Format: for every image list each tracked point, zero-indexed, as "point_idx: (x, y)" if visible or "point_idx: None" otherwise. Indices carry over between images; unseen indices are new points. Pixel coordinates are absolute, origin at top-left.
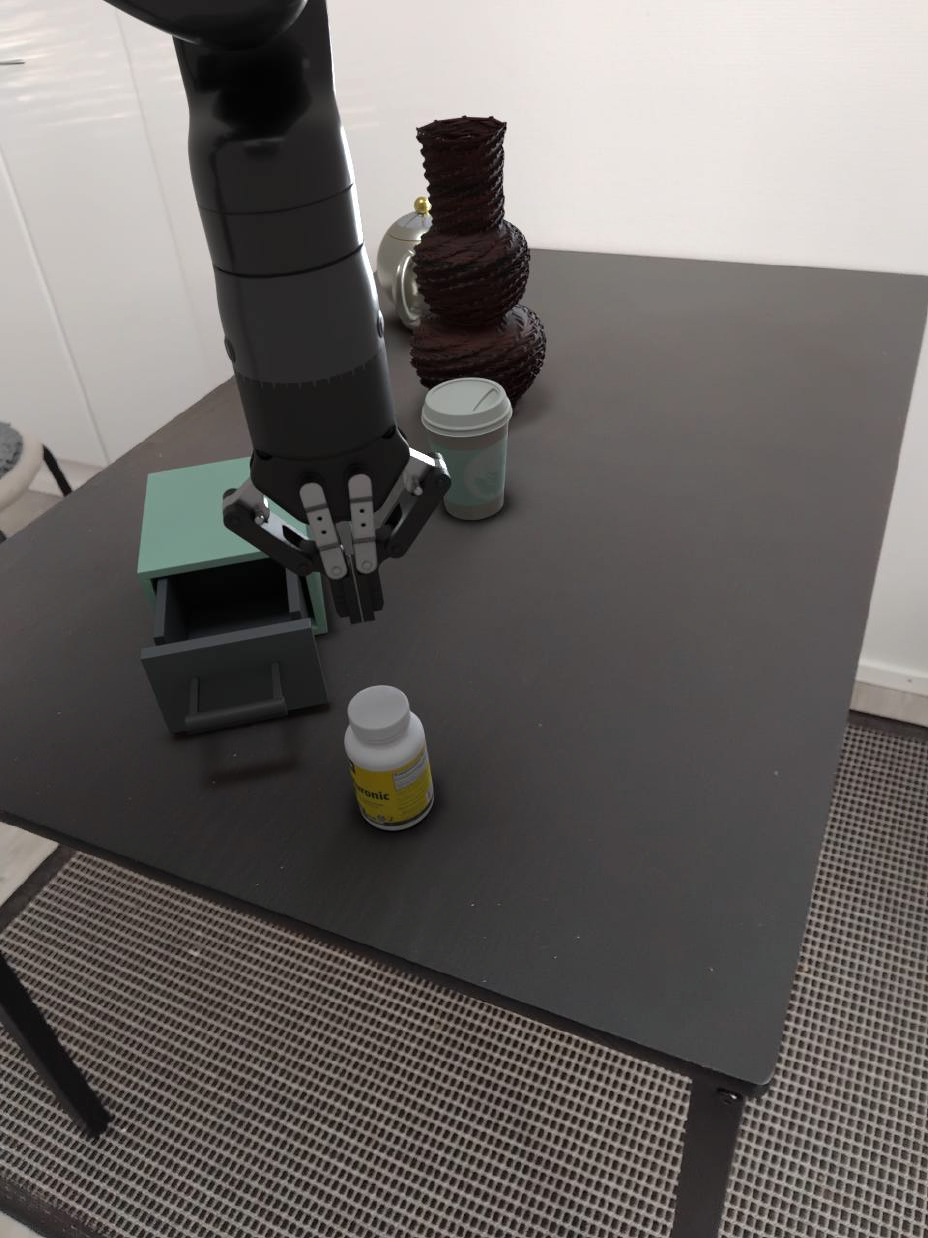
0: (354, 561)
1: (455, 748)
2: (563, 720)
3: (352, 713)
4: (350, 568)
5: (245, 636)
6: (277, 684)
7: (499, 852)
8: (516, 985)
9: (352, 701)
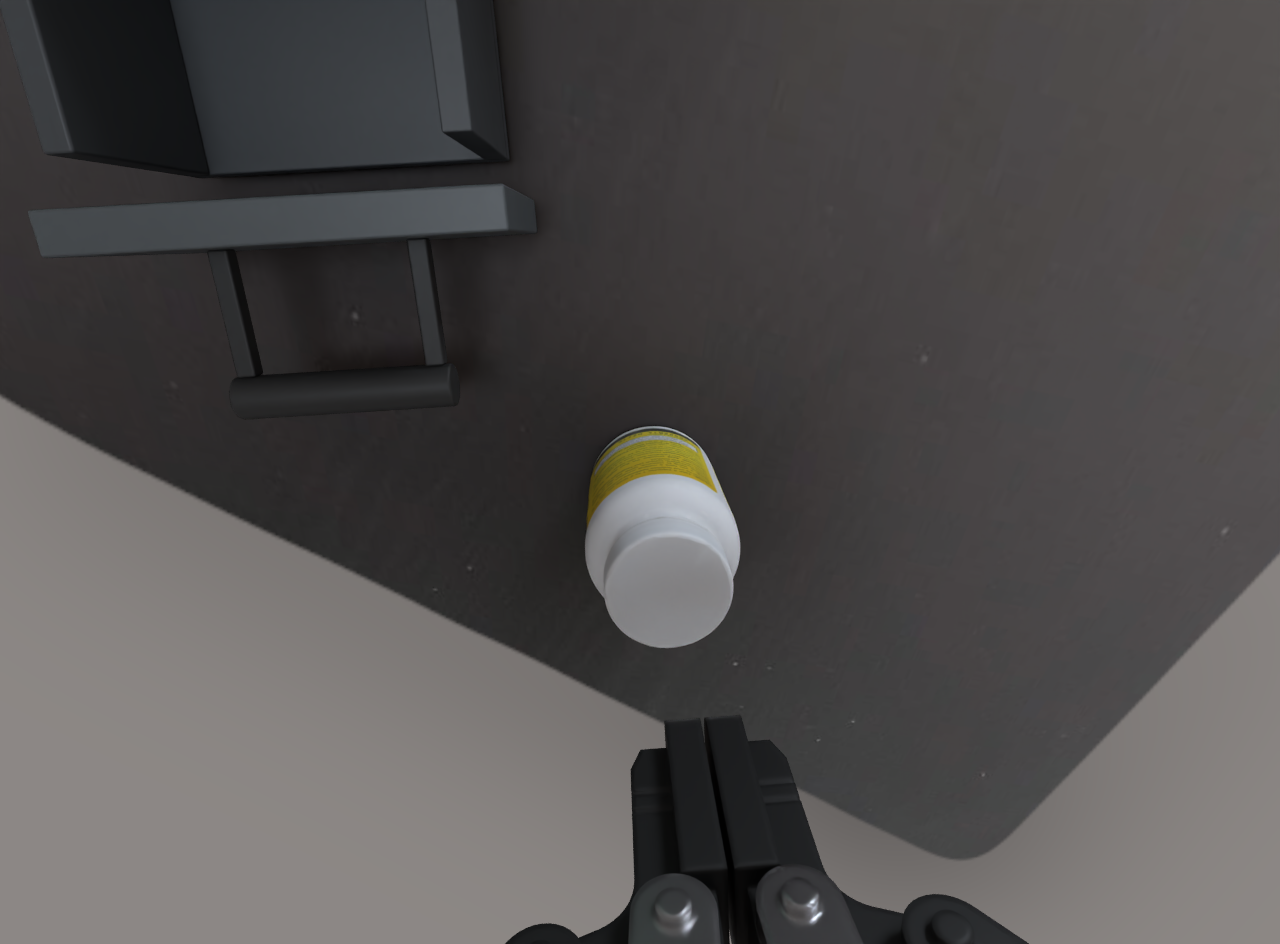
0: (744, 903)
1: (765, 384)
2: (967, 356)
3: (614, 602)
4: (725, 935)
5: (326, 228)
6: (430, 322)
7: (789, 594)
8: None
9: (615, 570)
